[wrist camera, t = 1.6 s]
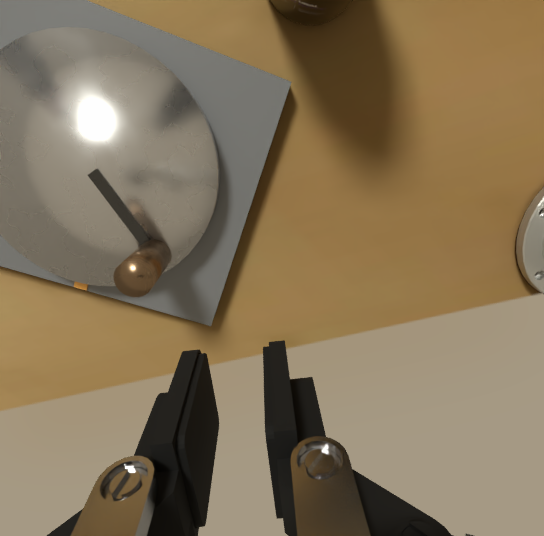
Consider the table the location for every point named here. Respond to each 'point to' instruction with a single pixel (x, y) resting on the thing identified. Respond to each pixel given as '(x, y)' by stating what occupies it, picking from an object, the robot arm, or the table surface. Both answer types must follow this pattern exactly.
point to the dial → (101, 159)
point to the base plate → (226, 130)
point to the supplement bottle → (311, 10)
